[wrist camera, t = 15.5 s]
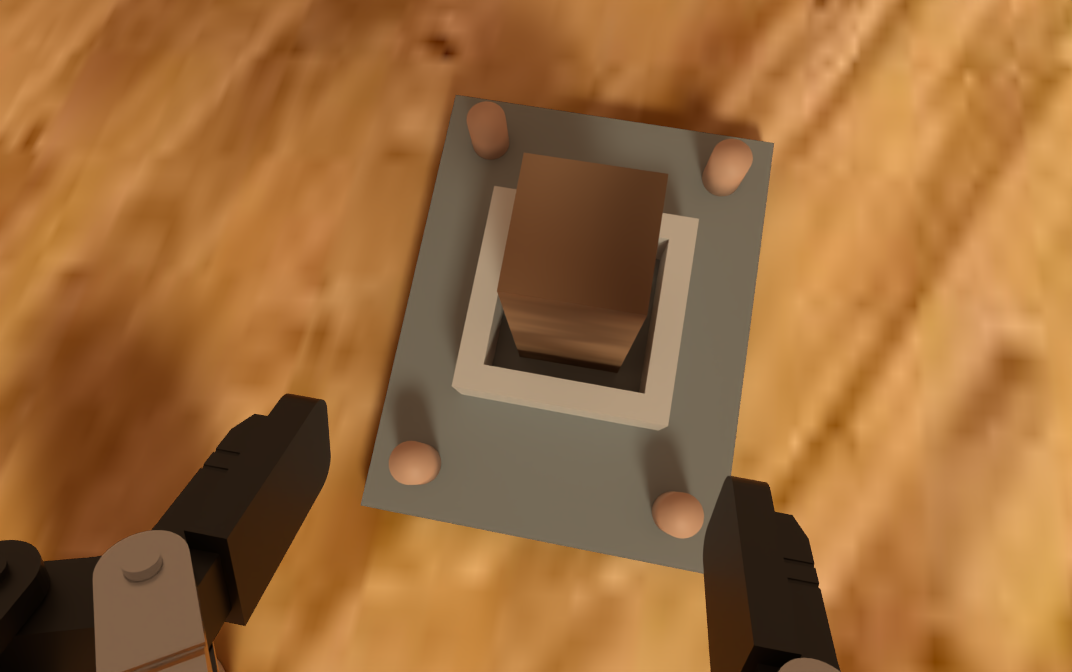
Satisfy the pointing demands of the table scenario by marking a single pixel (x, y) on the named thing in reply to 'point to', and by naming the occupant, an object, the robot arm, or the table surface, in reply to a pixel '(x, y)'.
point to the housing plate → (564, 390)
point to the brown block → (580, 259)
